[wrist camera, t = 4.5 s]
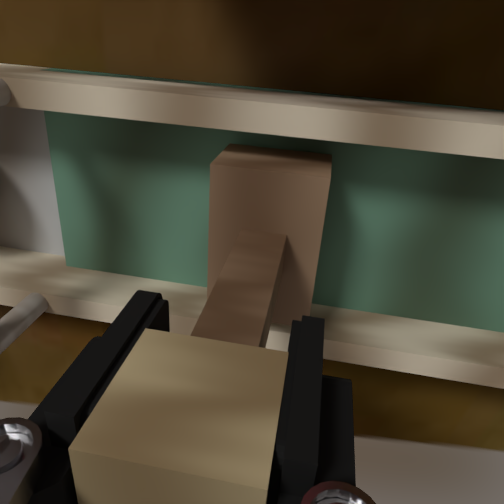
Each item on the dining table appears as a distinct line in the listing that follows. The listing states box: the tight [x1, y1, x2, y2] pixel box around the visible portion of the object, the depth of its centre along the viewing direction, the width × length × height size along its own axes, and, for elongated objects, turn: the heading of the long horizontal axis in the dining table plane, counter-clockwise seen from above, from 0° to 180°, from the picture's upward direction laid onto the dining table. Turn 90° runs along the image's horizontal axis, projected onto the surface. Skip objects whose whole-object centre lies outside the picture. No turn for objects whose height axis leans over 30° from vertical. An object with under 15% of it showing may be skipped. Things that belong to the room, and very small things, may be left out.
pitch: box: [0, 63, 504, 389], centre depth 17 cm, size 30×10×8 cm, turn 86°
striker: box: [68, 143, 332, 504], centre depth 13 cm, size 4×6×13 cm, turn 176°
